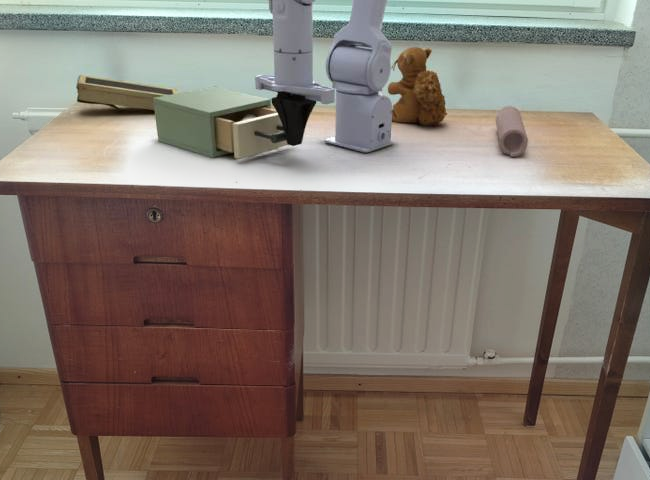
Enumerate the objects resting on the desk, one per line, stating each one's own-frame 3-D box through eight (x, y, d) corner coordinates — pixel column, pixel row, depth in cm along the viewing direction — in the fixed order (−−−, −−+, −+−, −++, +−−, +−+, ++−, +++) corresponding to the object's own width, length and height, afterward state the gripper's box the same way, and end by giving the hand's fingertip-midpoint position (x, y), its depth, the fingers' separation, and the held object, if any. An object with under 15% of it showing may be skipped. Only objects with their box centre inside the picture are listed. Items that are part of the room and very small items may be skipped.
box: (77, 100, 135) (77, 73, 133) (193, 115, 143) (195, 90, 141) (76, 110, 129) (76, 83, 126) (197, 126, 137) (199, 100, 134)
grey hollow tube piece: (531, 132, 114) (523, 107, 129) (503, 127, 114) (498, 103, 129) (523, 159, 116) (517, 132, 131) (496, 154, 117) (492, 128, 132)
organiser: (272, 141, 120) (270, 99, 116) (213, 157, 111) (209, 112, 107) (217, 126, 127) (214, 86, 124) (158, 140, 118) (152, 97, 115)
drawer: (316, 149, 114) (316, 116, 111) (262, 165, 106) (261, 130, 103) (240, 129, 123) (238, 98, 120) (185, 142, 115) (182, 109, 112)
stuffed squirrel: (416, 110, 143) (421, 41, 136) (460, 126, 133) (468, 53, 126) (376, 116, 138) (380, 44, 131) (419, 132, 128) (426, 56, 121)
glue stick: (239, 128, 117) (243, 111, 116) (256, 134, 118) (260, 117, 116) (231, 140, 111) (235, 122, 109) (249, 146, 111) (254, 128, 110)
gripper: (238, 47, 102) (243, 140, 109) (312, 60, 94) (312, 159, 102) (272, 42, 106) (274, 131, 114) (344, 54, 99) (342, 149, 106)
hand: (294, 144), depth 108 cm, fingers closed
